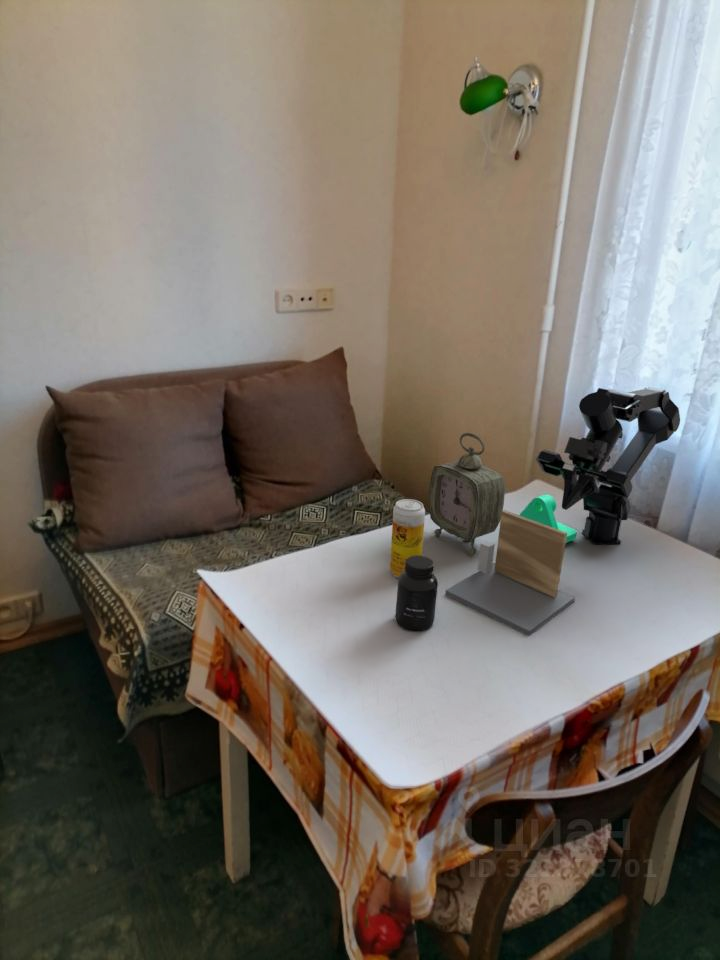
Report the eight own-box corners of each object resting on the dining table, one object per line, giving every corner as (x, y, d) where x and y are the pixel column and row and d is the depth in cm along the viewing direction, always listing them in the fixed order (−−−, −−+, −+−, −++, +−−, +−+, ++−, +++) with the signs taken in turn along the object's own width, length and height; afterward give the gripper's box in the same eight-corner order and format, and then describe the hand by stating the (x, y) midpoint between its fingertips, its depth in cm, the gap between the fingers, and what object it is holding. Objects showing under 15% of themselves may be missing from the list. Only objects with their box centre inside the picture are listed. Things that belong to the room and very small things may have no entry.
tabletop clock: (425, 534, 149) (434, 428, 140) (455, 525, 154) (464, 421, 145) (472, 561, 138) (484, 447, 129) (502, 550, 144) (516, 439, 134)
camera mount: (577, 542, 149) (584, 500, 145) (555, 551, 144) (562, 507, 141) (535, 522, 158) (541, 482, 154) (513, 530, 153) (518, 489, 150)
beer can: (385, 576, 131) (389, 507, 126) (395, 563, 137) (399, 496, 131) (414, 583, 129) (420, 513, 124) (424, 569, 134) (429, 501, 129)
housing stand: (491, 566, 137) (495, 535, 134) (574, 601, 125) (579, 568, 122) (443, 593, 126) (446, 561, 123) (528, 635, 114) (534, 600, 112)
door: (497, 569, 133) (504, 510, 128) (557, 595, 124) (567, 532, 120) (494, 571, 132) (501, 511, 127) (554, 597, 124) (564, 534, 119)
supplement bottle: (408, 637, 113) (412, 575, 108) (388, 616, 118) (391, 556, 114) (441, 627, 116) (447, 566, 111) (420, 607, 121) (425, 549, 117)
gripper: (547, 411, 135) (510, 475, 132) (637, 433, 123) (600, 504, 120) (560, 440, 143) (527, 501, 140) (646, 463, 131) (612, 530, 128)
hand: (563, 508), depth 131 cm, fingers closed
